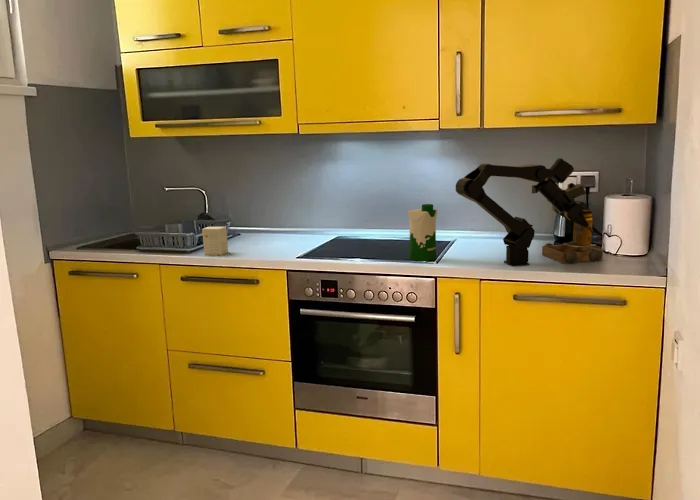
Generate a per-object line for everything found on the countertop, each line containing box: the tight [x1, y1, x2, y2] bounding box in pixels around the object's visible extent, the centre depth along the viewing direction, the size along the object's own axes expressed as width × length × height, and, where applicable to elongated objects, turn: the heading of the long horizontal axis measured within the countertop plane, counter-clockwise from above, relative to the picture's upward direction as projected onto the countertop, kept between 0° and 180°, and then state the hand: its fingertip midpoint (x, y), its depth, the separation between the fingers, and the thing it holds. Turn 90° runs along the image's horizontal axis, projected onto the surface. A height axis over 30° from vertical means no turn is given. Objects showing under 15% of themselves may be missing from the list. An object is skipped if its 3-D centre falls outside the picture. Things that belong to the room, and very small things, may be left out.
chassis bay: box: [541, 241, 604, 264], centre depth 218 cm, size 15×16×4 cm
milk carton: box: [407, 203, 438, 262], centre depth 222 cm, size 9×9×20 cm
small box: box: [201, 226, 229, 256], centre depth 247 cm, size 8×6×10 cm
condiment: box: [562, 208, 597, 247], centre depth 212 cm, size 7×8×12 cm
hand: (584, 225), depth 212 cm, fingers closed on condiment, 6 cm apart
